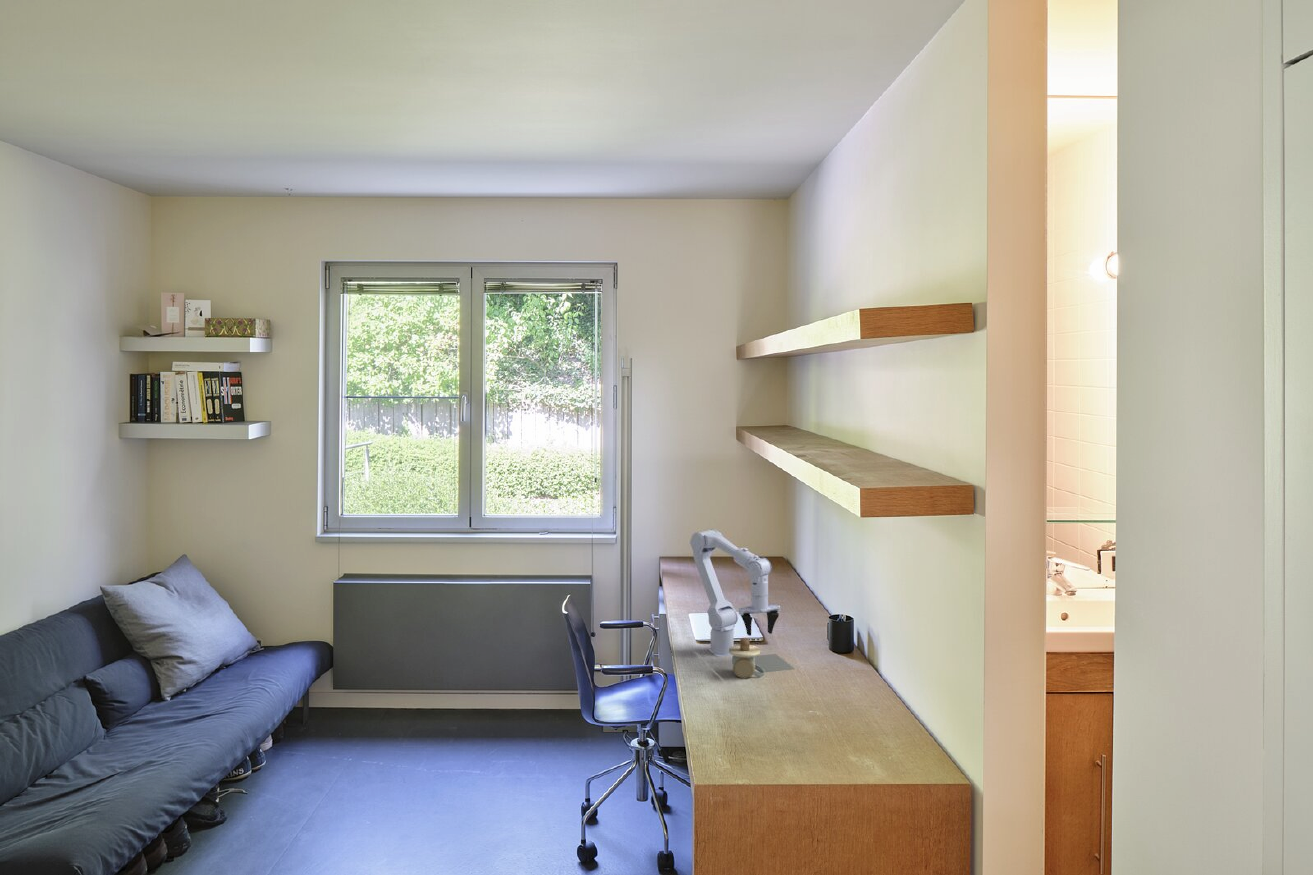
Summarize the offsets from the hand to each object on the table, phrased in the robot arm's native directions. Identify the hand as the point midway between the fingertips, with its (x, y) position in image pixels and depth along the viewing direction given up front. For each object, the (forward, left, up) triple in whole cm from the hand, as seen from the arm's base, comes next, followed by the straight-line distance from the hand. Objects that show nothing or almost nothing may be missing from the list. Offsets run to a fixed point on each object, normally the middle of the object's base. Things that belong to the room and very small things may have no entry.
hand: (759, 633), depth 279 cm
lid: (+9, -9, -3) cm, 12 cm away
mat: (+1, +3, -10) cm, 11 cm away
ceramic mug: (+9, -8, -11) cm, 16 cm away
